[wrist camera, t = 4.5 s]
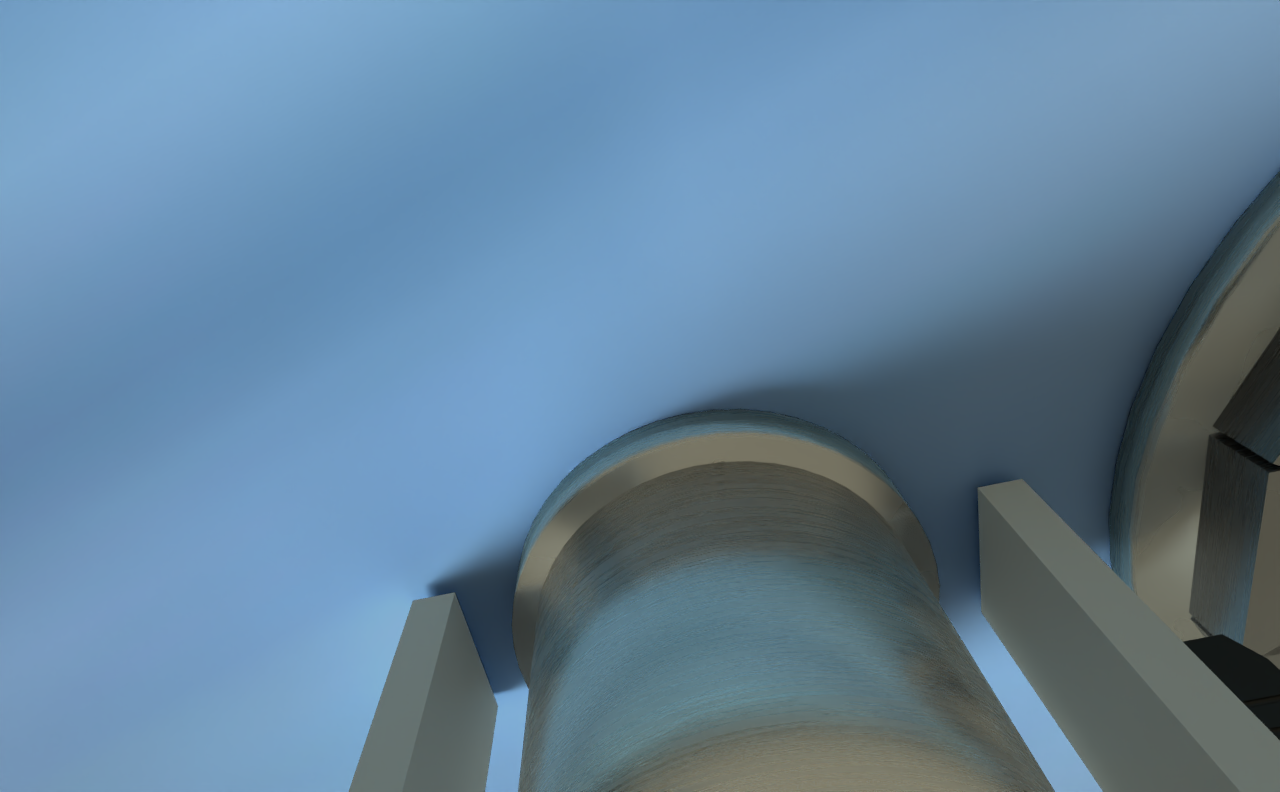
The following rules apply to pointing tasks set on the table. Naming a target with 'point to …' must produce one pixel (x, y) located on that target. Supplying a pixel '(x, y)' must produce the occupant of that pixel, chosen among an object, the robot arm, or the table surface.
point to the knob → (746, 625)
